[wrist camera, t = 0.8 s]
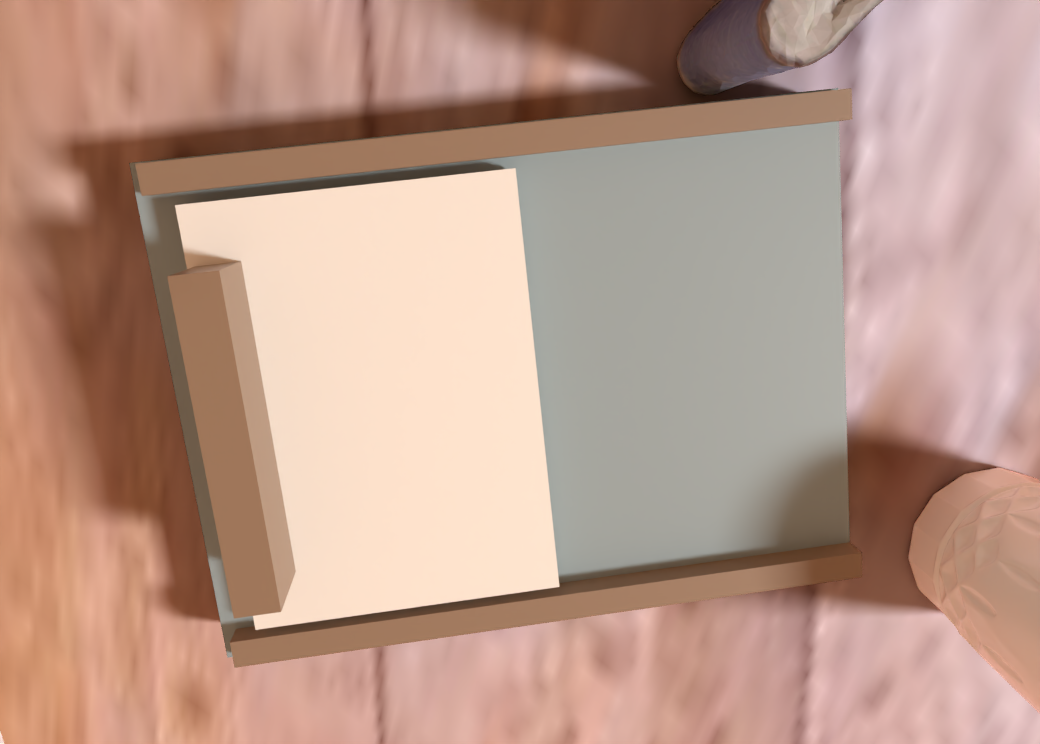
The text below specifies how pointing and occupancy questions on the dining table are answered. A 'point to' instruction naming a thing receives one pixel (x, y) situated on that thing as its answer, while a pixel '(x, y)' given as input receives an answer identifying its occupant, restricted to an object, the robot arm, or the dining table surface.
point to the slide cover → (367, 396)
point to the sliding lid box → (617, 349)
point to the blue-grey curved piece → (763, 39)
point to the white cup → (986, 569)
